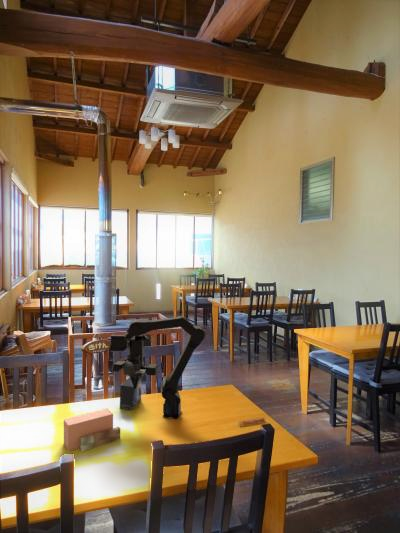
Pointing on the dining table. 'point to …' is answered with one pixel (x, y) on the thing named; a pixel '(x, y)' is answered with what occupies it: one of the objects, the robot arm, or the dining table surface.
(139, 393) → the small box
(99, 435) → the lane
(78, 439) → the block
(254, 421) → the chocolate bar
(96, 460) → the dining table surface
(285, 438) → the dining table surface
